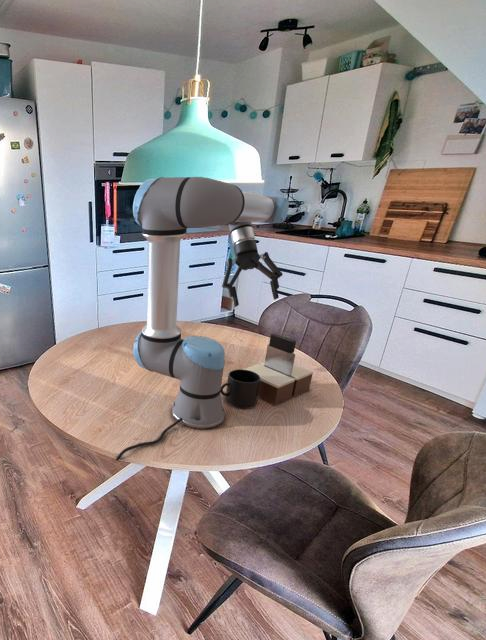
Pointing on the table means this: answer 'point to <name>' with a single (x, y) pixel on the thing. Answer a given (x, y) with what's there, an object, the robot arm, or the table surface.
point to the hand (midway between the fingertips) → (256, 302)
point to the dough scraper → (280, 354)
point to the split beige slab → (281, 383)
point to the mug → (242, 388)
